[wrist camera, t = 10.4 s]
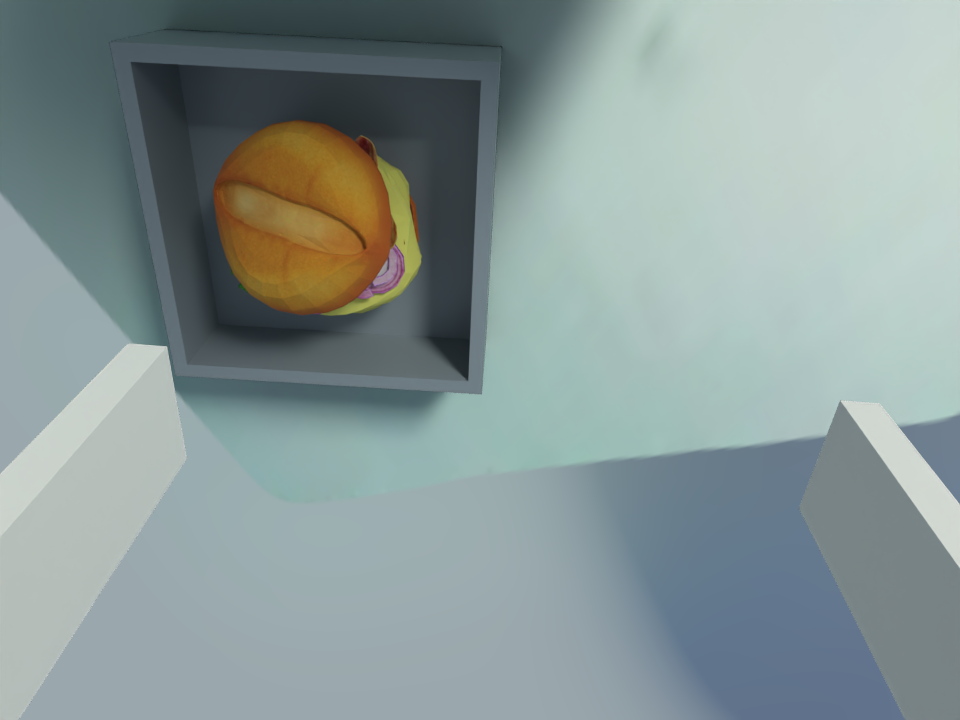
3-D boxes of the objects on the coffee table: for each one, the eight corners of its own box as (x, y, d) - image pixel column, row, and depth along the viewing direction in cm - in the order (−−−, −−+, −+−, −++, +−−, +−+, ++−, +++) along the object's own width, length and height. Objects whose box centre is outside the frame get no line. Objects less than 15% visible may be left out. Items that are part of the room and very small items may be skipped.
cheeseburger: (296, 324, 44) (221, 372, 35) (237, 151, 42) (139, 153, 32) (451, 286, 42) (415, 326, 33) (399, 102, 40) (345, 88, 30)
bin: (165, 28, 37) (109, 41, 32) (501, 46, 37) (499, 62, 32) (213, 327, 46) (175, 375, 41) (485, 343, 46) (481, 394, 41)
